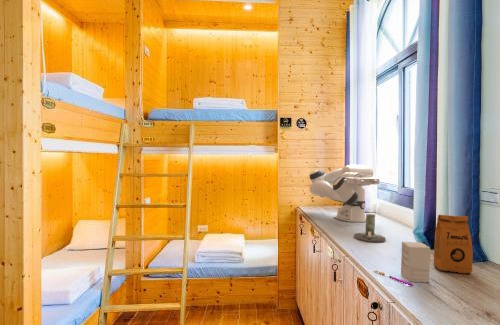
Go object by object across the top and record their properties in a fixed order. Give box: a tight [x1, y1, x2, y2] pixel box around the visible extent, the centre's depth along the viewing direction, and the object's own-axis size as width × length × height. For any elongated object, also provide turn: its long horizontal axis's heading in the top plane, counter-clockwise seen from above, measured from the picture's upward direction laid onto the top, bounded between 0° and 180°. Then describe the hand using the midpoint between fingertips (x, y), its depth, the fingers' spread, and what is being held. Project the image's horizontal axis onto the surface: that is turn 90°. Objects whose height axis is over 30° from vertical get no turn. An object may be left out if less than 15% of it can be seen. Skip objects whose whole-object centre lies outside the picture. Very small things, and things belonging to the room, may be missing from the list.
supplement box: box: [400, 241, 431, 283], centre depth 117 cm, size 7×7×13 cm
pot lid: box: [353, 231, 387, 244], centre depth 174 cm, size 16×16×5 cm
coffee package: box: [433, 214, 474, 274], centre depth 127 cm, size 10×12×22 cm
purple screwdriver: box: [375, 270, 414, 287], centre depth 116 cm, size 3×1×16 cm
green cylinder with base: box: [361, 213, 379, 238], centre depth 174 cm, size 8×8×12 cm
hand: (369, 181), depth 189 cm, fingers open, 8 cm apart
